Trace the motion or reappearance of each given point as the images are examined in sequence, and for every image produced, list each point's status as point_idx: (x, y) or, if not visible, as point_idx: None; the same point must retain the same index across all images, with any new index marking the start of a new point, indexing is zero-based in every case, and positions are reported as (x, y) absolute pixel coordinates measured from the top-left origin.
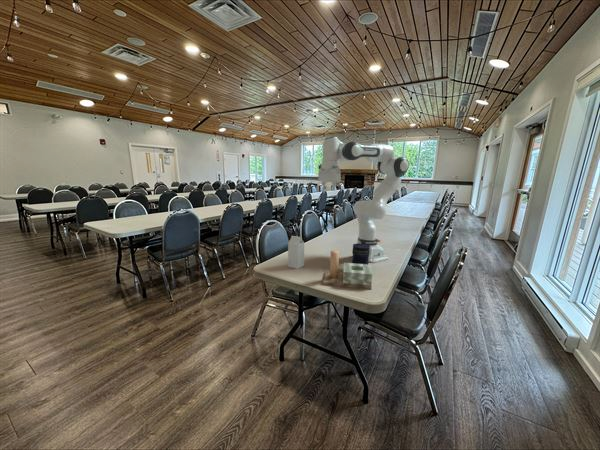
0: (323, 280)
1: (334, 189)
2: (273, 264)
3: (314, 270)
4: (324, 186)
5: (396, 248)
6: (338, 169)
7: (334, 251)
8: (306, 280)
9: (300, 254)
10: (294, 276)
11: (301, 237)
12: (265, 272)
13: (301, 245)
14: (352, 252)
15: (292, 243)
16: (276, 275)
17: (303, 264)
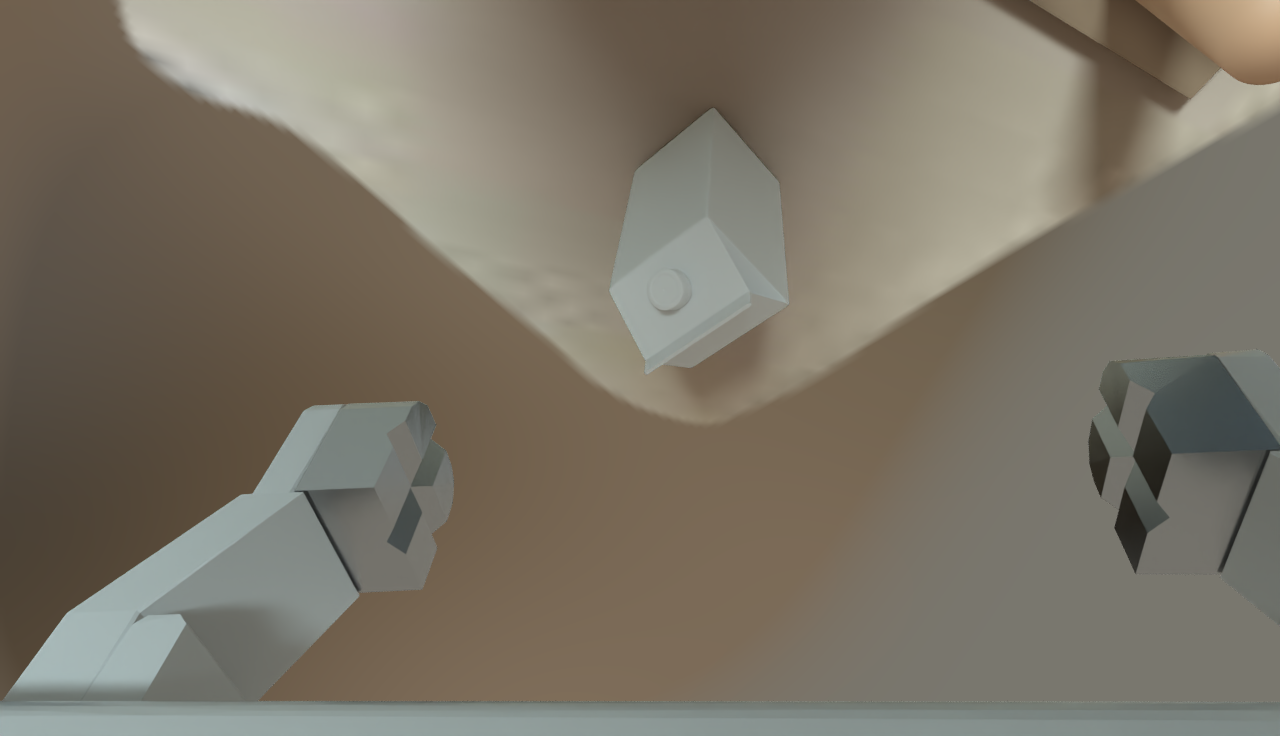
0: (1166, 84)
1: (1273, 378)
2: (617, 325)
3: (860, 47)
4: (346, 555)
5: None
6: None
7: (1261, 30)
8: (1030, 185)
9: (756, 213)
10: (913, 246)
11: (750, 301)
12: (762, 398)
13: (747, 248)
14: None
15: (728, 342)
16: (842, 349)
17: (719, 118)
